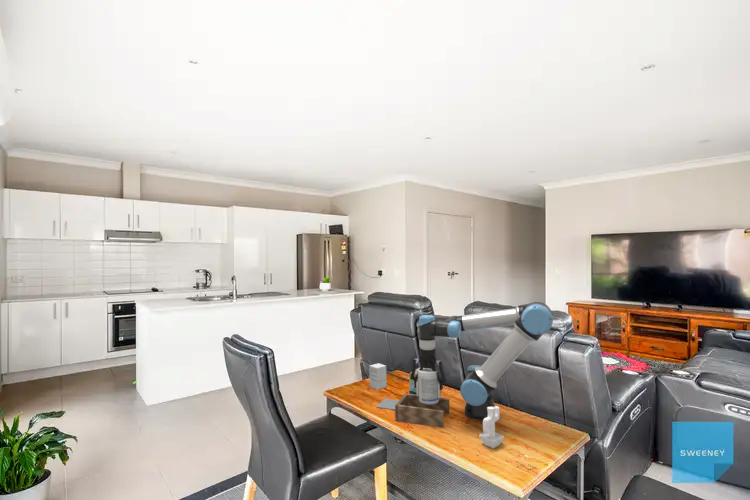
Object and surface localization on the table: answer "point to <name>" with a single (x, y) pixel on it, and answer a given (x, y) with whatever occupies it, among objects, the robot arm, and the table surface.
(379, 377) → the supplement box
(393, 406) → the grey mat
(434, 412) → the walnut box
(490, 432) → the figurine
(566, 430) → the table surface
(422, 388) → the supplement tub
